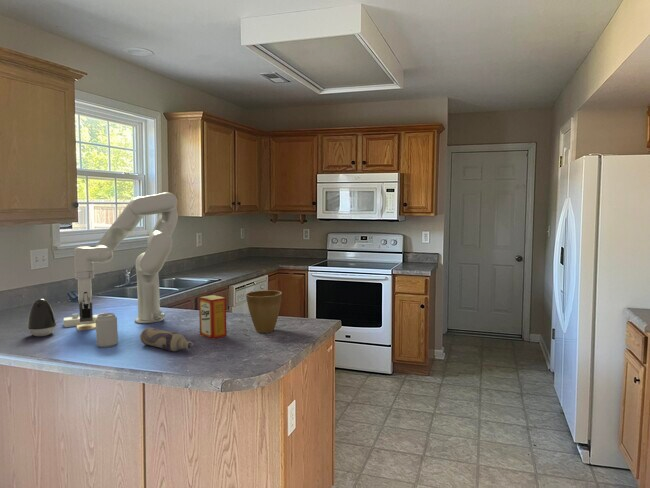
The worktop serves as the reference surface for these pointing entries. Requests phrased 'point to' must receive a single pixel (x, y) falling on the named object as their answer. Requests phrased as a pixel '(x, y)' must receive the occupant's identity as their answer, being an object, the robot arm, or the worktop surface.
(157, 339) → the decorative bottle
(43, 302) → the dark egg-shaped diffuser
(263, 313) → the plant pot
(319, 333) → the worktop surface
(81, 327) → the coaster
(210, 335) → the baking soda box
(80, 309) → the charger
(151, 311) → the robot arm
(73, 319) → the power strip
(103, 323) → the can
